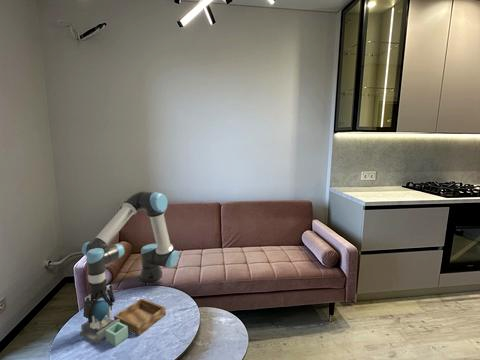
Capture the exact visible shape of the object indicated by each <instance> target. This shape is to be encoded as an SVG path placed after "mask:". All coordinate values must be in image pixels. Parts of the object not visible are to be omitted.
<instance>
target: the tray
mask: <svg viewBox="0 0 480 360" xmlns="http://www.w3.org/2000/svg"><path fill="white" fill-rule="evenodd" d="M166 315H167V313H166V307H165V306H162V305H160V304H158V303H155V302H153V301H149V300H147V299H144V298H140V299H138V300H137V301H135V302H133V303H132V304H130V305H129V306H128V307H126V308H125V309H122V310H121V311H119V312H118V313H116V314H114V315H113V321H116V320H117V319H120V323H122V324H124V325H126V326H128V330H129V331H128V332H130V331H131V333H132V332H133V333H132V334H134V333H135V334H134V335H137V336H141V335H142V334H143V333H144V332H146V331H147V330H149V329H150V328H151V327H152V326H154V325H155V324H156V323H158V322H159V321H160V320H162V318H164V317H165V316H166Z"/></svg>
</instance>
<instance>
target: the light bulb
mask: <svg viewBox="0 0 480 360" xmlns="http://www.w3.org/2000/svg"><path fill="white" fill-rule="evenodd" d="M108 312H109V305H108V303H107V302H106V301H105V300H104V299H102V300H101V299H100V300H98V301H97V302H96V305H95V309H94V312H93V316H94V318H95V319H98V321H99V324H102V323H103V319H104V317H107V313H108Z"/></svg>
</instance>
